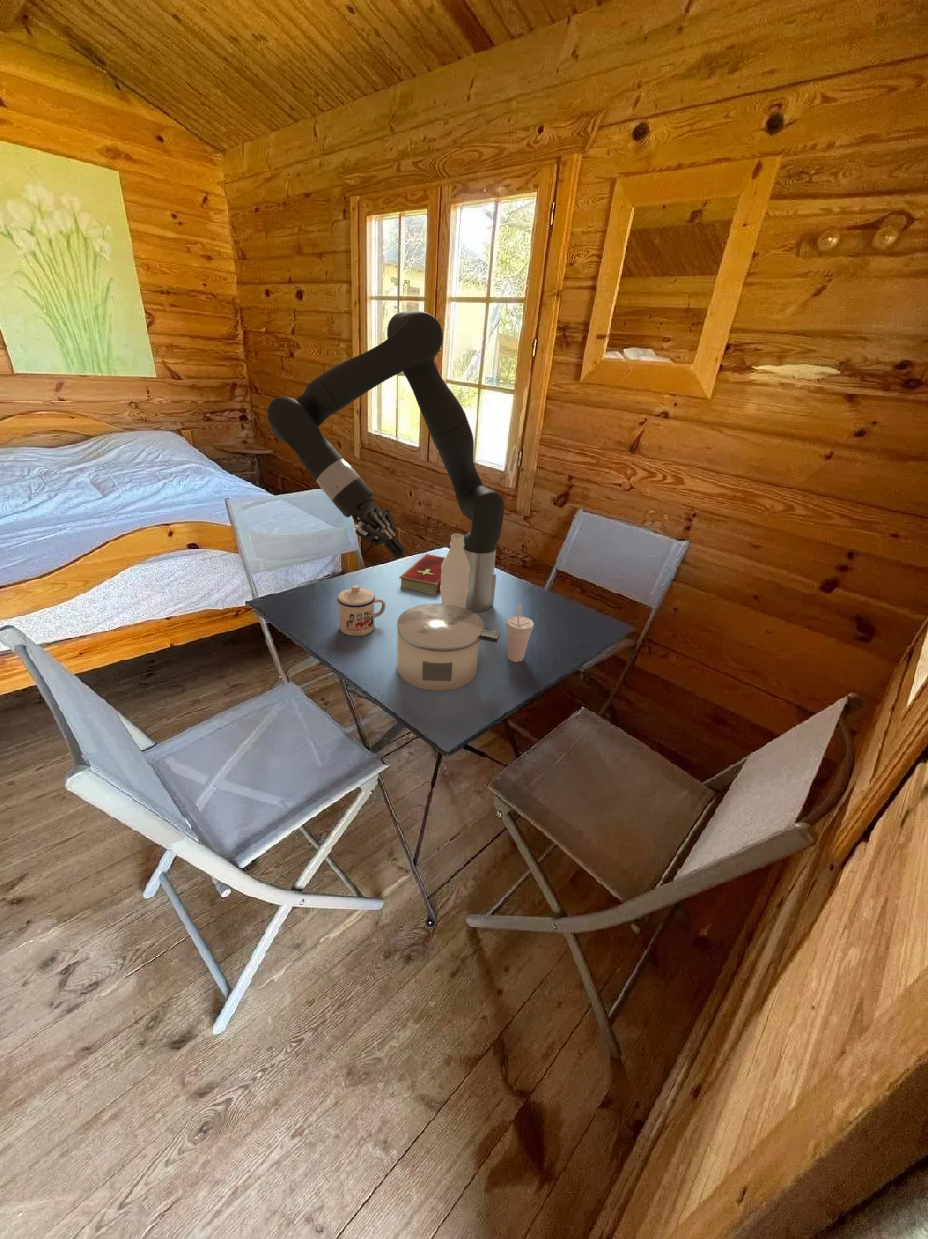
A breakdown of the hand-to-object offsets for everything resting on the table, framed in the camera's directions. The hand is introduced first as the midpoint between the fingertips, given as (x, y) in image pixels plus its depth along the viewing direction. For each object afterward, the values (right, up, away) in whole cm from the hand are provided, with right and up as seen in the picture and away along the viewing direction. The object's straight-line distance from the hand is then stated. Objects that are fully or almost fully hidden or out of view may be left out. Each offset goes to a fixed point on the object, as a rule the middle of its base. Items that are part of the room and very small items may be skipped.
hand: (401, 554), depth 107 cm
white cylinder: (+7, -24, +11) cm, 27 cm away
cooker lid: (+10, -16, +5) cm, 19 cm away
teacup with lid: (-13, -16, +24) cm, 32 cm away
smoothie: (+25, -23, +16) cm, 38 cm away
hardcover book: (+3, -1, +54) cm, 54 cm away
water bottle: (+10, -16, +27) cm, 33 cm away
